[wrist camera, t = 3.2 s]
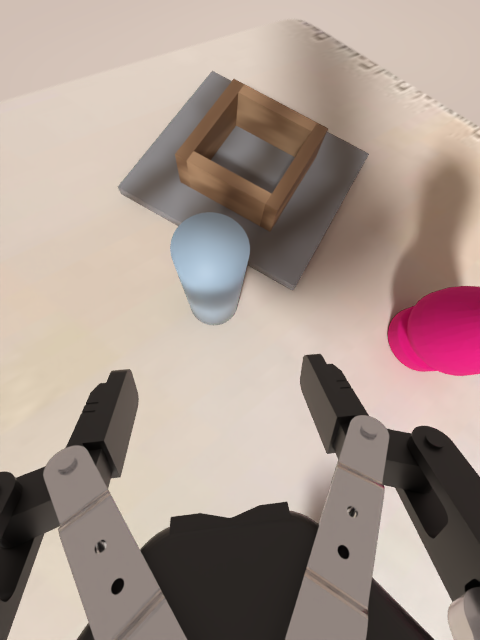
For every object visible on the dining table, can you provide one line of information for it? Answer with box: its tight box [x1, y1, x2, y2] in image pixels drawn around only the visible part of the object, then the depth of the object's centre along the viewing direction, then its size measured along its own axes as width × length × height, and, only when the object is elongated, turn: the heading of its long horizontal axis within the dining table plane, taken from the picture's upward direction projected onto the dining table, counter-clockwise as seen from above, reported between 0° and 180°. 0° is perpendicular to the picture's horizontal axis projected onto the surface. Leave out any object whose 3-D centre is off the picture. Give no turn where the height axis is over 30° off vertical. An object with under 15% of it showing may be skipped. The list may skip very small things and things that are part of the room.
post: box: [170, 212, 250, 325], centre depth 21 cm, size 4×4×11 cm
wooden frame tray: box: [118, 71, 369, 290], centre depth 28 cm, size 20×18×4 cm
